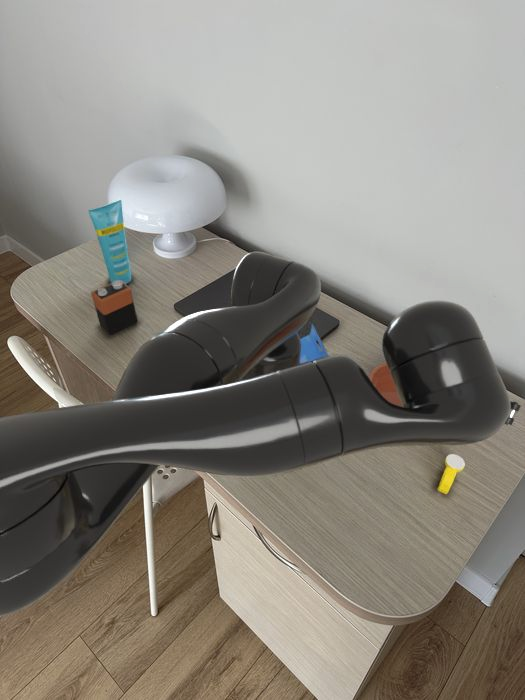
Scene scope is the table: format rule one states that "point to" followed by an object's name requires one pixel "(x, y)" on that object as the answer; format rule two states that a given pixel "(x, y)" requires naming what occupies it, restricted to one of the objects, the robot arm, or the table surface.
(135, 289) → the table surface
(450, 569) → the table surface
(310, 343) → the blue grey carton
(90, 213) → the tube
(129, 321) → the battery
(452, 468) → the yellow flashlight
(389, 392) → the bowl
